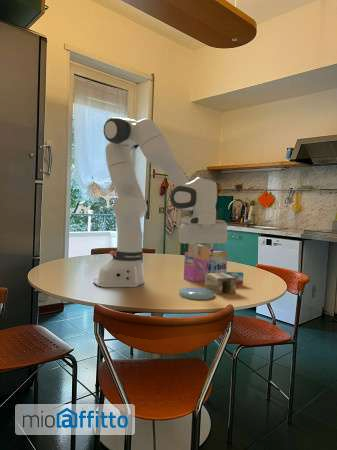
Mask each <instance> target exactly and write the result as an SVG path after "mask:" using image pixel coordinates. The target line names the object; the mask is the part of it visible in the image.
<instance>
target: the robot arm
mask: <svg viewBox="0 0 337 450" xmlns="http://www.w3.org/2000/svg"><path fill="white" fill-rule="evenodd" d="M103 136H104V137H105V139H106V141H108V142H109V143H108V144H106V146H105V159H106V160H105V161H106V165H107V169H108V173H109V177H110V182H111V185H112V187H113V188H114V190H115V192H116V194H117V198H116V199H115V200H114V201H113V205H112V210H113V214H114V216H115V223H116V230H117V246H116V247H117V248H116V250H115V251H114V250H110V256H112V259H111V260H110V261H108V262H107V263H106V264H104V265H102V266H101V268H100V270H99V274H98V277H95V278H93V281H94V283H95V284H96V285H98V286H97V287H99V286H101V287H100V288H136V287H138V286H140V285H143V284H144V283H145V280H144V279H145V278H144V273H143V261H144V254H143V253H144V251H143V239H144V238H143V231H142V226H141V225H142V224H141V219H142V218H143V217H144V216H145V215H146V214H147V212H148V204H147V202H146V199H145V197H144V195H143V192H142V189H141V187H140V186H141V185H139V182H138V179H137V176H136V172H135V171H136V170H135V168H134V164H133V160H132V156H131V150H134V151H135V150H137V149H138V148H139V149H140V151H141V152H142V155H143V156H144V157H145V159H146V160H147V161H148V162H149V163H150V164H151V165H153V166H154V167H156V168H158V169H160V170H161V171H162V172H164V173H165V174H166V175H167V176H168V177H169V179H170V180H171V182H172V183H173V185H174V186H175V187H174V188H173V189H172V190H171V192H170V194H169V195H170V196H169V201H170V204H171V205H172V206H173V207H174V208H175V209H178V210H182V211H188V212H192V214H190V215H187V216H182V217H181V219H180V222H181V224H180V225H179V227H178V228H179V229H178V237H177V240H178V242H179V243H180V244H189V243H193V248H194V250H195V255H200V250H198V248H197V246H198V244H207V246H208V247H209V255H210V251H211V250H213V248H214V244H226V243H227V242H228V223H227V222H226V221H225V220H223V219H217V209H216V204H217V202H218V201H217V200H218V187H217V183H216V181H215V180H213V179H212V178H207V177H204V176H197V177H196V178H194V180H192V181H190V179H189V178H188V176H187V175H186V173H185V172H184V170H183V168H182V167H181V165H180V164H179V162H178V161H177V158H176V156H175V154H174V152H173V150H172V148H171V146H170V144H169V142H168V140H167V138H166V137H165V136H164V133H163V132H162V130H161V129H160V128H159V126H157V124H156V123H155V122H154V121H153V120H152V119H150V118H143V119H140V120H135V119H131V118H122V117H119V116H118V117H111V118H108V119H107V120H106V121H105V122H104V125H103ZM94 283H93V284H94ZM95 284H94V285H95ZM96 285H95V286H96Z"/></svg>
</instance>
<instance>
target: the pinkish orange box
mask: <svg viewBox="0 0 337 450" xmlns="http://www.w3.org/2000/svg"><path fill="white" fill-rule="evenodd" d="M197 248H198V250H200V255H195V250H194V248H193V243H188V248H187V249H188V250H187V251H188V255H189V256H192V257H195V258H198V259H200V260H209V247H208V245H203V244H201V243H198V246H197Z"/></svg>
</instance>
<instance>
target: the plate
mask: <svg viewBox="0 0 337 450" xmlns="http://www.w3.org/2000/svg"><path fill="white" fill-rule="evenodd" d="M178 291H179V293H178V294H179V296H180V297H182V298H185V299H189V300H194V301H208V300H211V299H214V298H215V293H214V292H213V291H211V290H208V289H205V287H204V288H203V287H196V286H195V287H189V286H188V287H184V288H180V289H179V290H178Z"/></svg>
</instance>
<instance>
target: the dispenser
mask: <svg viewBox="0 0 337 450" xmlns="http://www.w3.org/2000/svg"><path fill="white" fill-rule="evenodd" d="M236 281H237V277H233V276H230V275H228V274H225V273H205V280H204V289H208V290H211V291H213V292H214V295H223V291H225V292H227V293H229V294H236V290H237V289H236V288H237V286H236Z"/></svg>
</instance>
